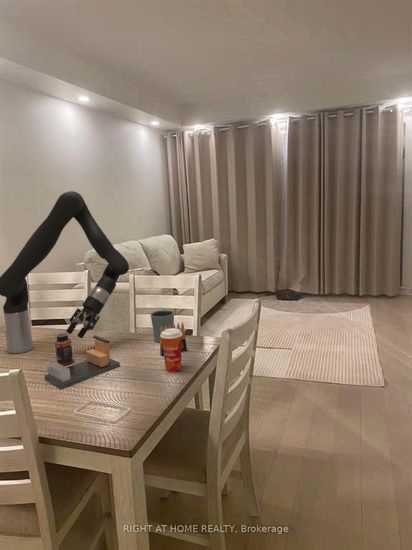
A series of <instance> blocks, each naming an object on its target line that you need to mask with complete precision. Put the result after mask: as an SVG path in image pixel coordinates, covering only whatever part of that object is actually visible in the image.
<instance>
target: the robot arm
mask: <svg viewBox="0 0 412 550" xmlns="http://www.w3.org/2000/svg"><path fill="white" fill-rule="evenodd" d="M73 218H74V220H76V222H77V224H79V226H80V227H81V228H82V231H83V233H84V234H85V236H86V238H87V240H88V242H89V243H90V246H91V247H92V248H93V249H94V251H95V252H96V254H97V255H98V256H99V257H100V258H101V259H102V260H105V261H106V262H107V263H108V264H107V265H106V267H105V269H104V271H103V273H102V274H101V277H100V279H99V280H98V281H97V283H96V285H95V286H94V287H93V288H92V289H91V290H90V292H89V293H88V295H87V297H86V298H85V300H84V301H83V303H82V305H81V306H82V307H83V308H82V309H80V308H77V309H76V310H75V311H74V313H73V314H72V315H71V317H70V319H69V322H70V324H69V326H68V327H67V328H66V331H65V332H66V334H69V335H72V333H73V332H74V330H75V329H76V327H77V326H78V325H79V324H82V323H83V325H82V327H81V328H80V330H79V332H78V333H77V334H76V335H77V337H78V338H80V339H83V338H84V336H85V335H86V333H87V332H88V331H89V330H93V329H94V328H95V326H96V324H97V323H98V322H99V319H100V315H99V314H100V313H101V312H102V310H103V309H104V307H105V306H106V304H107V302H108V300H109V299H110V296H111V295H112V293H113V292H114V290H115V288H116V286H117V282H118V279H119V278H120V276H124V275H126V274H127V273H128V272H129V269H130V265H129V263H128V260H127V259H126V257H125V256H123V254H121V252H120V251H118V249H116V248H115V247H114V245H113V244H112V242H111V241H110V240H109V238H108V237H107V235H106V234H105V233H104V231H103V230H102V229H101V227H100V225H99V224H98V223H97V222H96V220H95V218H94V217H93V215H92V213H91V212H90V210H89V207H88V205H87V204H86V202H85V199H84V198H83V196H82V194H80V193H79V192H77V191H73V190H70V191H67V192H62V193H61V194H60V196H59V197H58V198H57V200H56V201H55V203H54V204H53V207H52V209H51V211H50V212H49V214H48V216H47V217H46V218H45V219H44V220H43V221H42V223H41V224H40V225H39V226H38V227H37V228H36V230H35V231H34V232H33V234H31V235H30V238H28V240H27V241H26V242H25V245H23V247H22V249H21V250H20V252H19V253H18V255H17V256H16V258H15V259H14V260H13V262H12V263H11V264H10V266H9V267H8V268H7V269H6V270H5V271H4V273H2V275H0V296H1V297H5V302H4V304H3V306H2V309H3V316H4V324H5V331H4V334H5V341H6V342H5V343H6V348H7V353H8V354H22V353H27V352H29V351H32V350H33V349H34V343H33V337H32V335H33V334H32V328H31V322H30V321H31V320H30V315H29V314H30V313H29V301H30V300H29V299H30V298H29V290H28V289H29V288H28V282H27V279H26V278H27V277H28V275H29V274H30V273H31V272H32V271H33V270H34V269H35V268H37V267H38V266H39V265H40V264H41V263H42V262H43V261H44V260H45V259H46V258H47V257H48V255H49V254H50V253H51V251H52V250H53V249H54V247H55V246H56V244H57V242H58V240H59V238H60V237H61V233H62V232H63V230H64V228H65V227H66V226H67V225H68V224H69V223H70V221H71V220H72V219H73Z"/></svg>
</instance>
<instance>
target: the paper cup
mask: <svg viewBox="0 0 412 550" xmlns="http://www.w3.org/2000/svg"><path fill="white" fill-rule="evenodd" d="M175 328H176V327H175ZM175 328H171V329H165V330H164V331H162V332H161V335H160V336H161V338H162V346H163V353H164V356H163V360H164V366H165V371H167V372H170V373H174V372H175V373H177V372H179V371H180V370H182V352H181V336H182V333H181V329H180V330H179V329H177V328H176V329H175Z"/></svg>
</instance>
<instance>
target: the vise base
mask: <svg viewBox="0 0 412 550" xmlns="http://www.w3.org/2000/svg"><path fill="white" fill-rule="evenodd" d="M46 364H47V363H46ZM120 364H121V363H120V361H119V360H118V361H117V360H115V359H112V358H110V362H109V365H106V366H103V367H100V366H98V365H96V364H93V363H91V362H89V361H87V359H86V360H84V361H81V362H78V363H76V364H73V365H70V366H66V365H61V364H59V363H57V361H53V362H50V363H48V364H47V365H46V366H47V374H45V375H44V380H45V381H47V382H48V383H50V384H51V385H54V386H55V387H56V388H59V389H60V390H64V389H65V388H68V387H72V386H73V385H76V384H78V383H81V382H84V381H86V380H89V379H92V378H94V377H96V376H100V375H101V374H103V373H106V372H108V371H112V370H114V369H117V368H119V367H121V365H120Z"/></svg>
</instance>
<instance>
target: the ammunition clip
mask: <svg viewBox="0 0 412 550" xmlns="http://www.w3.org/2000/svg"><path fill="white" fill-rule="evenodd" d="M173 328H175V329H179V330H180V331H181V333H182V336H181V353H184V352H183V351H185V352H187V351H188V348H187V340H186V332H185V325H184V322H183V321H182V322H181V324H180V323H179V322H177V324H175V323H174V324H173ZM165 329H167V327H166V325H165V328H164V330H165ZM169 329H171V325H170V324H169ZM162 331H163V328H162V326H161V327H160V335H161V332H162ZM159 355H160V356H161V357H163V358H164V353H163V346H162V338H161V336H160V343H159Z"/></svg>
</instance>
